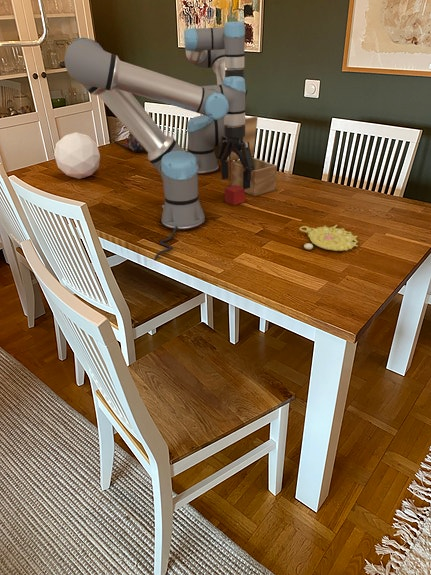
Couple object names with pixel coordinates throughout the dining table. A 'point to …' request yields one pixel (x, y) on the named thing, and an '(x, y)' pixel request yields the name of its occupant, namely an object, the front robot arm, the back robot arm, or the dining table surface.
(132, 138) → the athletic shoe
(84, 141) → the sphere
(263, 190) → the chest
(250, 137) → the lid
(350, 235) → the decorative object
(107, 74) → the front robot arm
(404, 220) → the dining table surface
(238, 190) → the block
